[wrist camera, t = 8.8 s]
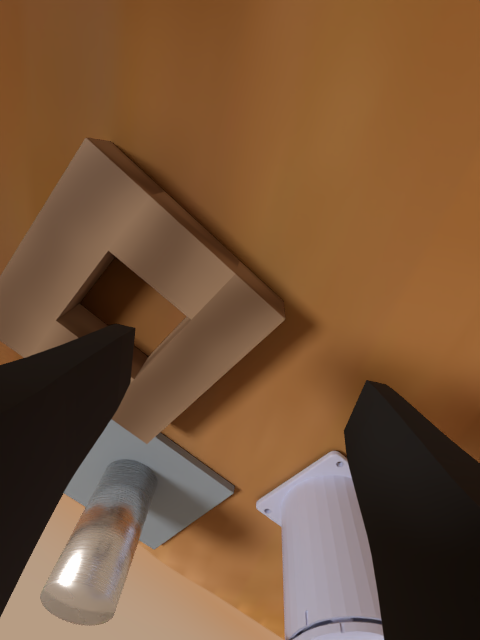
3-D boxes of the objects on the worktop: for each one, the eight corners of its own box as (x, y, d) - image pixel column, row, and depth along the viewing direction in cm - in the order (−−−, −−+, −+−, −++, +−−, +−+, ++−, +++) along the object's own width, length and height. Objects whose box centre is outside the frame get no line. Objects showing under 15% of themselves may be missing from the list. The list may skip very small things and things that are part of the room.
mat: (234, 486, 26) (233, 493, 25) (156, 542, 29) (154, 549, 29) (103, 391, 23) (99, 396, 23) (34, 465, 27) (29, 471, 26)
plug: (168, 480, 25) (129, 607, 18) (136, 505, 27) (88, 633, 19) (124, 450, 24) (65, 572, 17) (94, 478, 26) (27, 601, 18)
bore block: (283, 301, 20) (285, 319, 17) (158, 417, 24) (146, 444, 21) (110, 141, 17) (85, 137, 15) (4, 304, 21) (-28, 321, 19)
